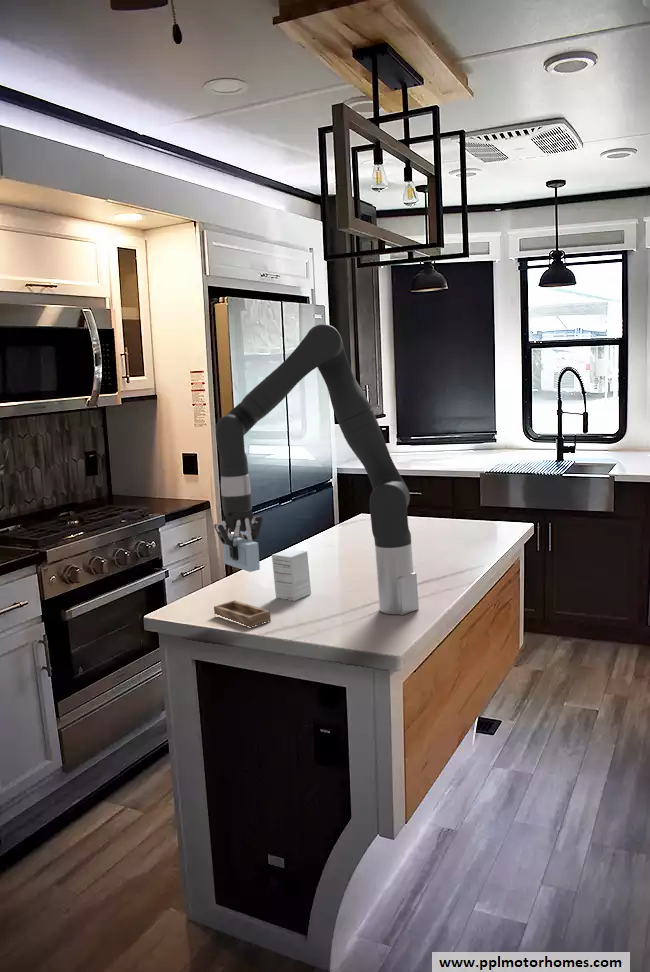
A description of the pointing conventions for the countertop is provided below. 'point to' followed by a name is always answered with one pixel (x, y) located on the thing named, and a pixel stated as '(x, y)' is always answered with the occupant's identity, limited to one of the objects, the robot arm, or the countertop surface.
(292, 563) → the supplement box
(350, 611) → the countertop surface
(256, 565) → the light blue rectangular block
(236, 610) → the wooden tray
